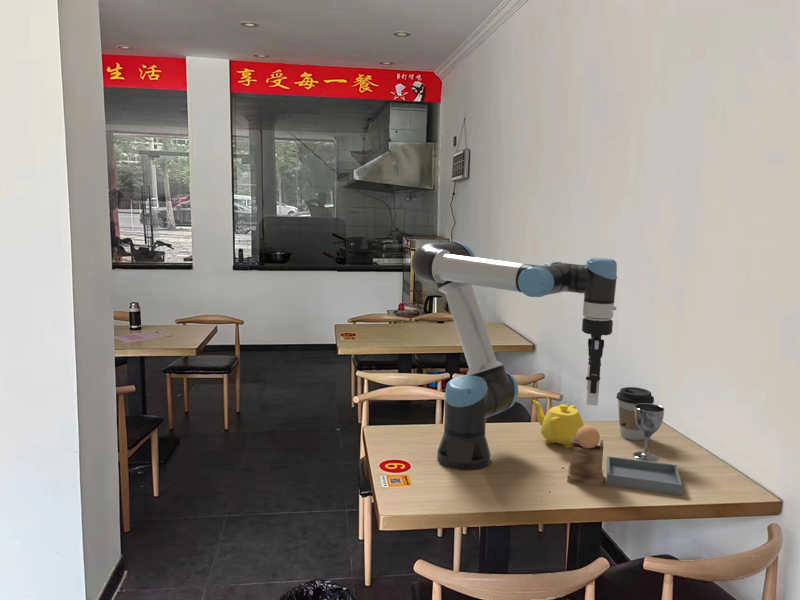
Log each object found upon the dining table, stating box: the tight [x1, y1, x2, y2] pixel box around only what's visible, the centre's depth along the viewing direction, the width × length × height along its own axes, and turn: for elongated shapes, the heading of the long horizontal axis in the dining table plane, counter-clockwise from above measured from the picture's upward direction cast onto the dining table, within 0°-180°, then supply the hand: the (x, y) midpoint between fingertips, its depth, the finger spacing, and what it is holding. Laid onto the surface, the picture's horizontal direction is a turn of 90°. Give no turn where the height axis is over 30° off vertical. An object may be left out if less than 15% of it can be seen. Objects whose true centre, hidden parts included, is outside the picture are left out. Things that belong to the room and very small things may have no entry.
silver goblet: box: [632, 403, 665, 462], centre depth 182 cm, size 8×8×15 cm
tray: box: [605, 455, 683, 496], centre depth 167 cm, size 18×13×3 cm
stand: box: [566, 437, 604, 487], centre depth 166 cm, size 9×7×10 cm
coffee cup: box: [615, 386, 655, 441], centre depth 198 cm, size 11×11×15 cm
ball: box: [576, 425, 601, 449], centre depth 165 cm, size 6×6×6 cm
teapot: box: [532, 399, 585, 449], centre depth 193 cm, size 14×14×12 cm
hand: (591, 397), depth 164 cm, fingers open, 13 cm apart
